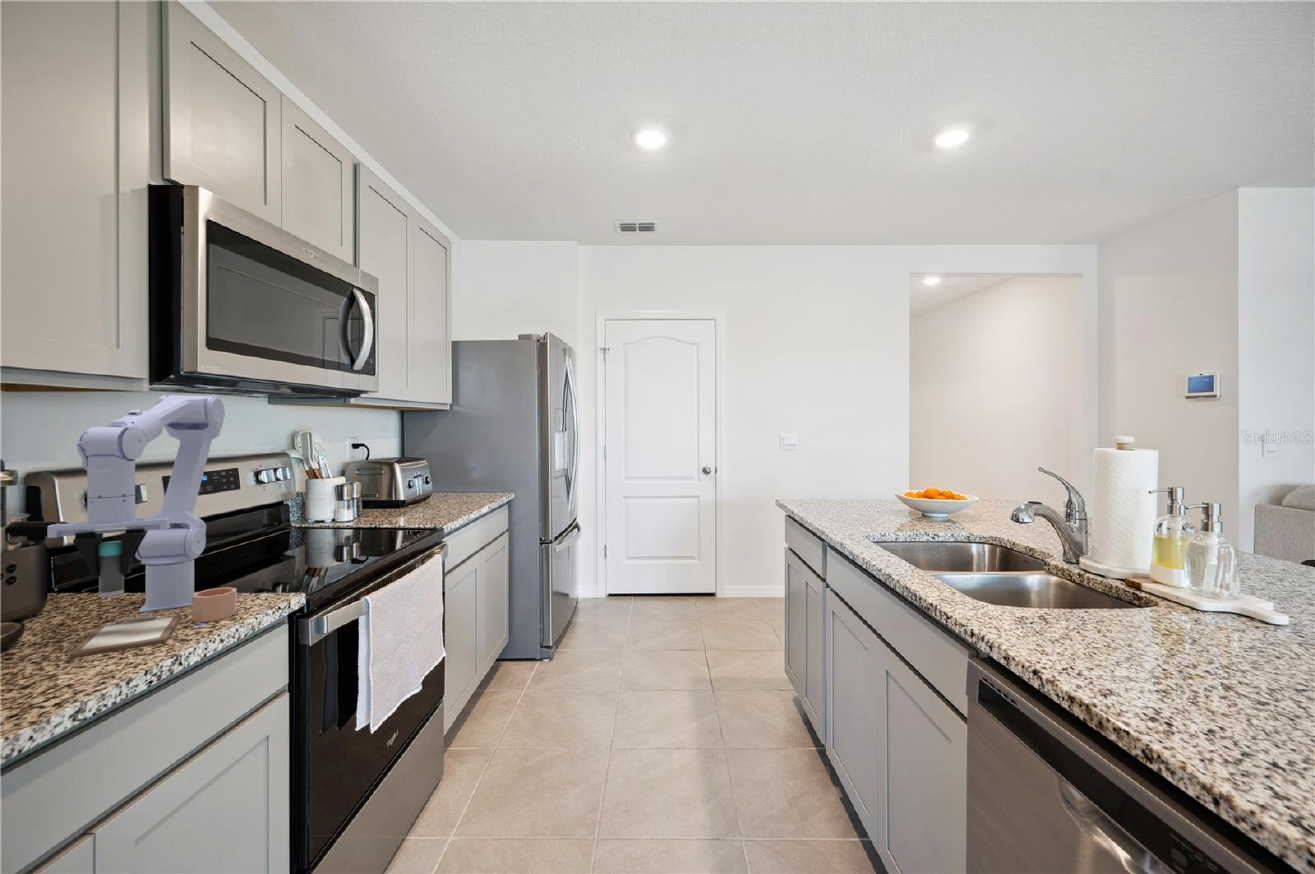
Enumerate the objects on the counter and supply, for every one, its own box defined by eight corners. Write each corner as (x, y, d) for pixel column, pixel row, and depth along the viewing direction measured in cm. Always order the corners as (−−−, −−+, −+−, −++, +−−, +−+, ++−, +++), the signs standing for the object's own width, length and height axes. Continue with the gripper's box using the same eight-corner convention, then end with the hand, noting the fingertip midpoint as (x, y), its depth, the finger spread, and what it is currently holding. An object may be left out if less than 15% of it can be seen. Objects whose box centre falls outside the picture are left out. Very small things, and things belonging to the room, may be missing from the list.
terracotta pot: (196, 614, 101) (196, 590, 101) (237, 608, 104) (237, 585, 104) (190, 624, 95) (190, 599, 95) (234, 617, 99) (234, 593, 99)
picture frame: (98, 629, 93) (98, 623, 93) (181, 617, 99) (181, 611, 99) (69, 658, 81) (69, 650, 81) (165, 642, 87) (165, 635, 87)
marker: (101, 593, 91) (101, 542, 91) (127, 590, 93) (127, 540, 93) (95, 598, 88) (95, 545, 88) (121, 595, 90) (121, 543, 90)
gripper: (39, 501, 83) (39, 587, 83) (163, 496, 91) (163, 574, 91) (56, 496, 89) (56, 576, 89) (172, 492, 97) (171, 565, 97)
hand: (111, 574), depth 91 cm, fingers closed on marker, 3 cm apart
